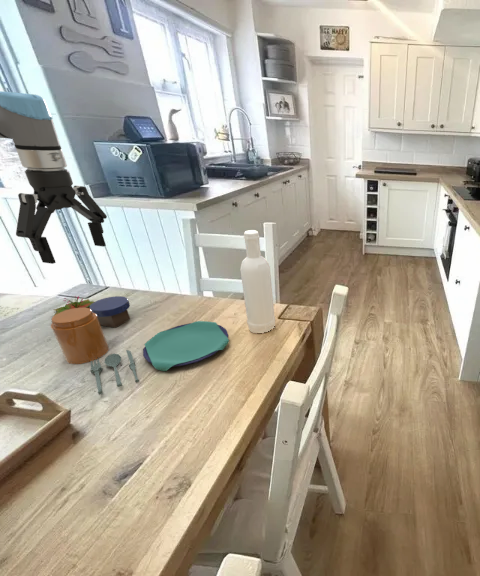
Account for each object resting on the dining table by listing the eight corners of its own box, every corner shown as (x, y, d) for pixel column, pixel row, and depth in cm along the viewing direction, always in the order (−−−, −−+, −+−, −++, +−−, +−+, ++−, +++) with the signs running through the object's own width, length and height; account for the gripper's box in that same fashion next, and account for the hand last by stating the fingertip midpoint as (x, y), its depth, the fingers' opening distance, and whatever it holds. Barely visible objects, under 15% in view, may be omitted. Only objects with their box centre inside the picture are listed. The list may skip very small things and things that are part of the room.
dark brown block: (100, 325, 94) (93, 307, 91) (115, 317, 98) (109, 299, 96) (115, 327, 94) (109, 309, 91) (130, 319, 98) (124, 301, 95)
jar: (56, 361, 80) (37, 321, 74) (89, 342, 87) (74, 304, 82) (86, 366, 79) (69, 326, 74) (117, 346, 86) (103, 308, 81)
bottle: (268, 317, 104) (258, 226, 91) (280, 327, 99) (272, 233, 86) (243, 325, 99) (229, 230, 86) (255, 337, 94) (242, 237, 81)
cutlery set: (240, 351, 88) (239, 344, 86) (97, 404, 69) (93, 396, 68) (215, 320, 100) (214, 314, 99) (89, 357, 82) (86, 350, 80)
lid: (137, 304, 98) (135, 298, 97) (111, 318, 90) (108, 312, 89) (111, 300, 98) (109, 294, 98) (83, 314, 91) (80, 308, 90)
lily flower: (109, 309, 102) (105, 296, 100) (59, 325, 93) (53, 311, 91) (93, 297, 108) (88, 285, 106) (44, 312, 98) (38, 298, 96)
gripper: (-4, 176, 64) (37, 273, 74) (108, 165, 87) (129, 241, 96) (-37, 172, 65) (8, 269, 74) (83, 163, 87) (106, 238, 97)
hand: (76, 253), depth 85 cm, fingers open, 13 cm apart
